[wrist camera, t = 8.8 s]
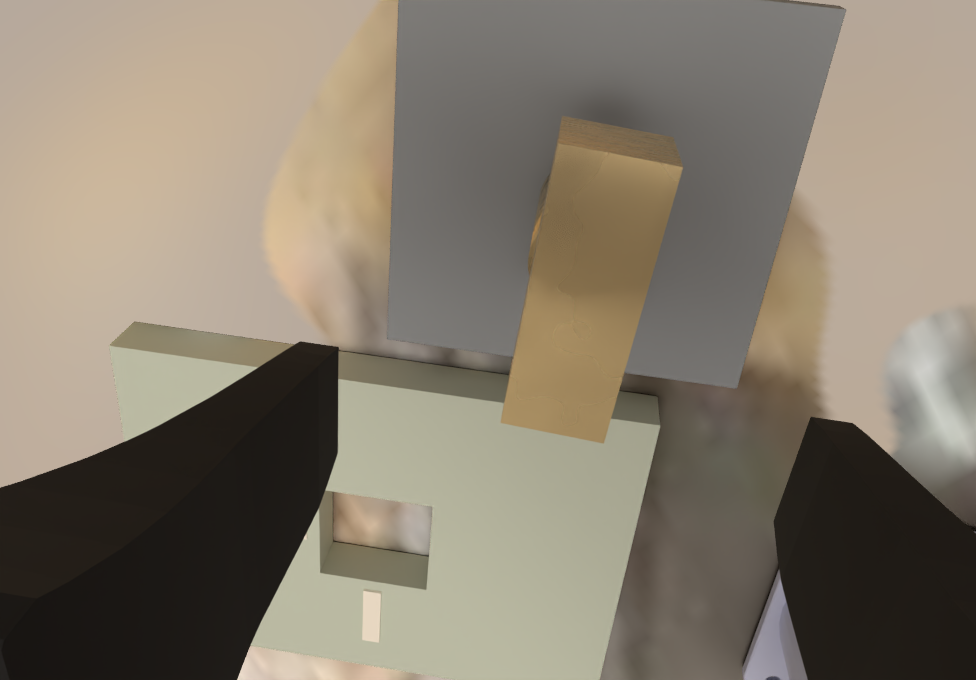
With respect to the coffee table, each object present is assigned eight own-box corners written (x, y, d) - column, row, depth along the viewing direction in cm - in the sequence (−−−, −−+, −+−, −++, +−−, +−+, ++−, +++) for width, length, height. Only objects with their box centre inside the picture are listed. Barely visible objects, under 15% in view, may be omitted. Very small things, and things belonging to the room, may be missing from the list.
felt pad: (839, 5, 19) (846, 9, 18) (733, 377, 24) (736, 388, 23) (405, -43, 19) (400, -41, 19) (391, 329, 24) (386, 339, 24)
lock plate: (657, 396, 24) (660, 427, 23) (594, 667, 30) (593, 705, 29) (134, 321, 25) (107, 347, 24) (173, 598, 31) (153, 632, 30)
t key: (605, 315, 22) (608, 444, 17) (518, 298, 22) (495, 421, 17) (663, 94, 19) (689, 168, 14) (563, 75, 19) (552, 142, 14)
